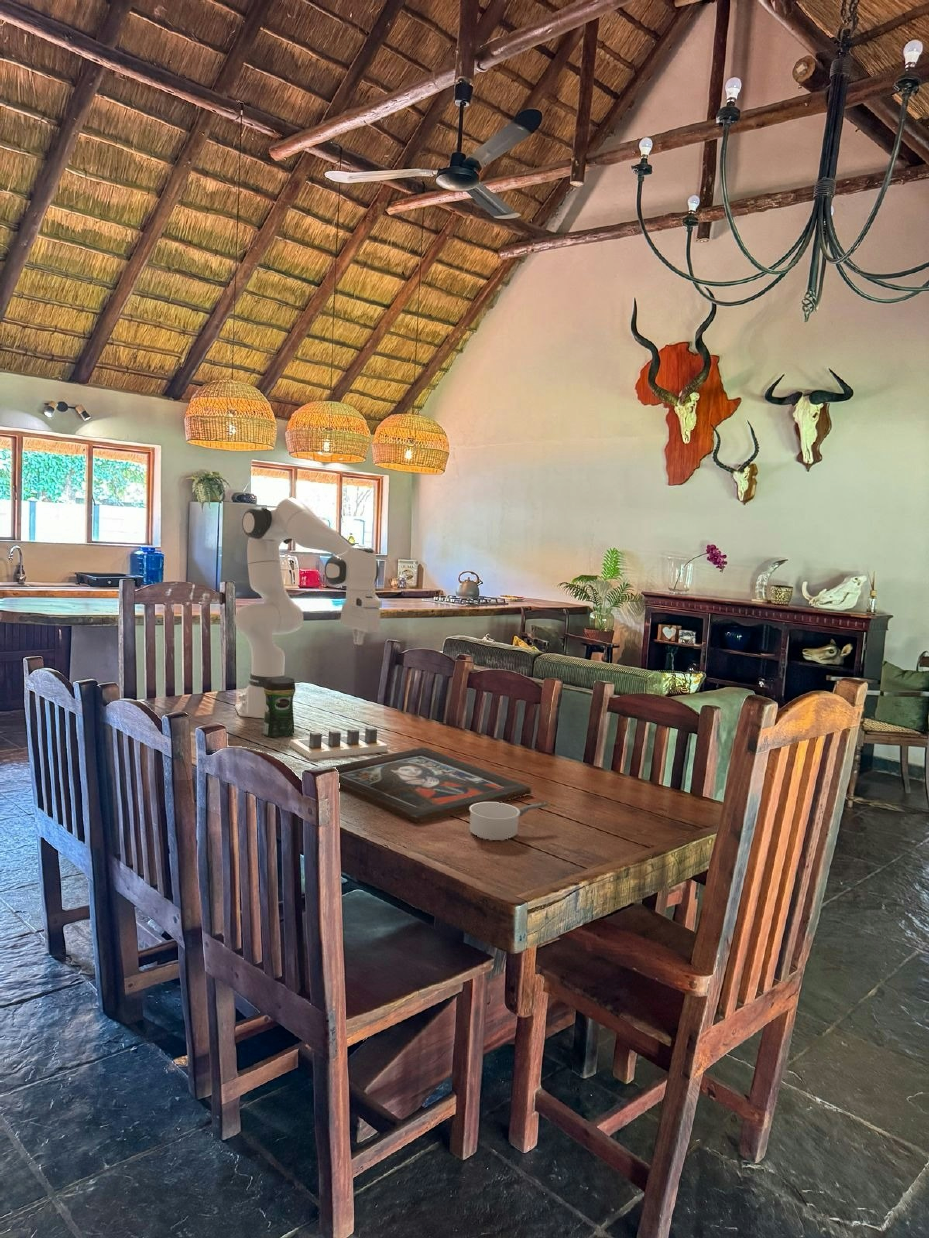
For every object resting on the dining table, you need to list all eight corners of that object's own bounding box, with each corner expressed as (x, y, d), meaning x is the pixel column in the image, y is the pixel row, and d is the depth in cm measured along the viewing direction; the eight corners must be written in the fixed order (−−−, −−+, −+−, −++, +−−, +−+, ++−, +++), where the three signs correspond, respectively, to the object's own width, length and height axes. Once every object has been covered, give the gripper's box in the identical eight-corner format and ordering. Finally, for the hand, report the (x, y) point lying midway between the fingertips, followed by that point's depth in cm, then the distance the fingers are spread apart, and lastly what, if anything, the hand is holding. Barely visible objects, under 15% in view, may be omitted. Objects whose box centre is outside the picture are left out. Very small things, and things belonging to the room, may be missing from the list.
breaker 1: (309, 745, 237) (309, 731, 237) (317, 745, 238) (317, 731, 238) (313, 748, 235) (313, 734, 234) (321, 747, 236) (321, 733, 236)
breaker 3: (346, 742, 244) (347, 728, 243) (354, 741, 245) (355, 728, 245) (351, 744, 241) (351, 731, 241) (358, 744, 242) (359, 730, 242)
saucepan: (559, 834, 184) (561, 810, 184) (484, 846, 174) (486, 821, 173) (530, 818, 194) (531, 795, 194) (458, 828, 184) (459, 804, 183)
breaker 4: (364, 740, 247) (365, 727, 247) (372, 740, 248) (372, 726, 248) (369, 743, 244) (369, 729, 244) (376, 742, 246) (377, 728, 245)
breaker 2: (328, 744, 240) (328, 730, 240) (335, 743, 242) (336, 729, 241) (332, 746, 238) (333, 732, 237) (340, 745, 239) (340, 731, 239)
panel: (290, 746, 244) (290, 739, 243) (365, 739, 257) (365, 732, 257) (309, 759, 231) (309, 751, 231) (387, 751, 245) (387, 744, 245)
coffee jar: (289, 730, 262) (291, 674, 260) (296, 736, 255) (299, 678, 254) (259, 732, 257) (261, 675, 256) (266, 738, 251) (268, 679, 249)
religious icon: (419, 754, 244) (420, 744, 243) (533, 796, 212) (534, 785, 212) (306, 777, 216) (306, 766, 215) (417, 829, 184) (418, 816, 184)
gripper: (336, 595, 255) (334, 639, 256) (365, 602, 238) (363, 649, 239) (355, 596, 258) (352, 639, 259) (384, 602, 241) (382, 648, 242)
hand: (358, 644), depth 249 cm, fingers closed
